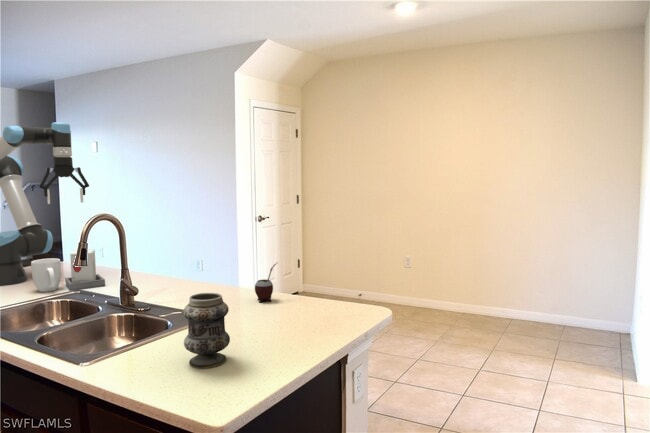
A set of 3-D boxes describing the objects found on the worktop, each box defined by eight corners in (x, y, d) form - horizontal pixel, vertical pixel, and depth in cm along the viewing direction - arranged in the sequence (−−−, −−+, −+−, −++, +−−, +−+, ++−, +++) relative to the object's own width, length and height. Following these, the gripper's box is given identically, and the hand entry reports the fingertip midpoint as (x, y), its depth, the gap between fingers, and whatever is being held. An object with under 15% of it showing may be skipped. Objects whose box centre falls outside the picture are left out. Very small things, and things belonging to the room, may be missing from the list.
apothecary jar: (233, 352, 137) (231, 289, 135) (226, 369, 125) (224, 301, 123) (190, 353, 136) (188, 290, 135) (179, 371, 124) (176, 302, 123)
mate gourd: (251, 302, 188) (250, 264, 187) (263, 297, 195) (262, 260, 194) (267, 304, 185) (266, 265, 183) (278, 299, 192) (278, 262, 190)
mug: (68, 291, 207) (66, 261, 206) (39, 296, 200) (37, 265, 199) (57, 285, 218) (56, 257, 217) (30, 290, 211) (27, 260, 209)
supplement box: (71, 287, 213) (69, 253, 211) (75, 282, 221) (73, 250, 220) (94, 285, 215) (92, 252, 214) (96, 281, 224) (95, 249, 222)
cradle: (65, 284, 220) (65, 278, 220) (99, 280, 228) (98, 274, 228) (70, 290, 209) (69, 284, 208) (105, 286, 217) (104, 279, 216)
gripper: (31, 156, 211) (35, 204, 214) (94, 156, 226) (96, 202, 228) (30, 156, 218) (33, 203, 220) (91, 157, 232) (93, 201, 234)
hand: (65, 203), depth 224 cm, fingers open, 13 cm apart
